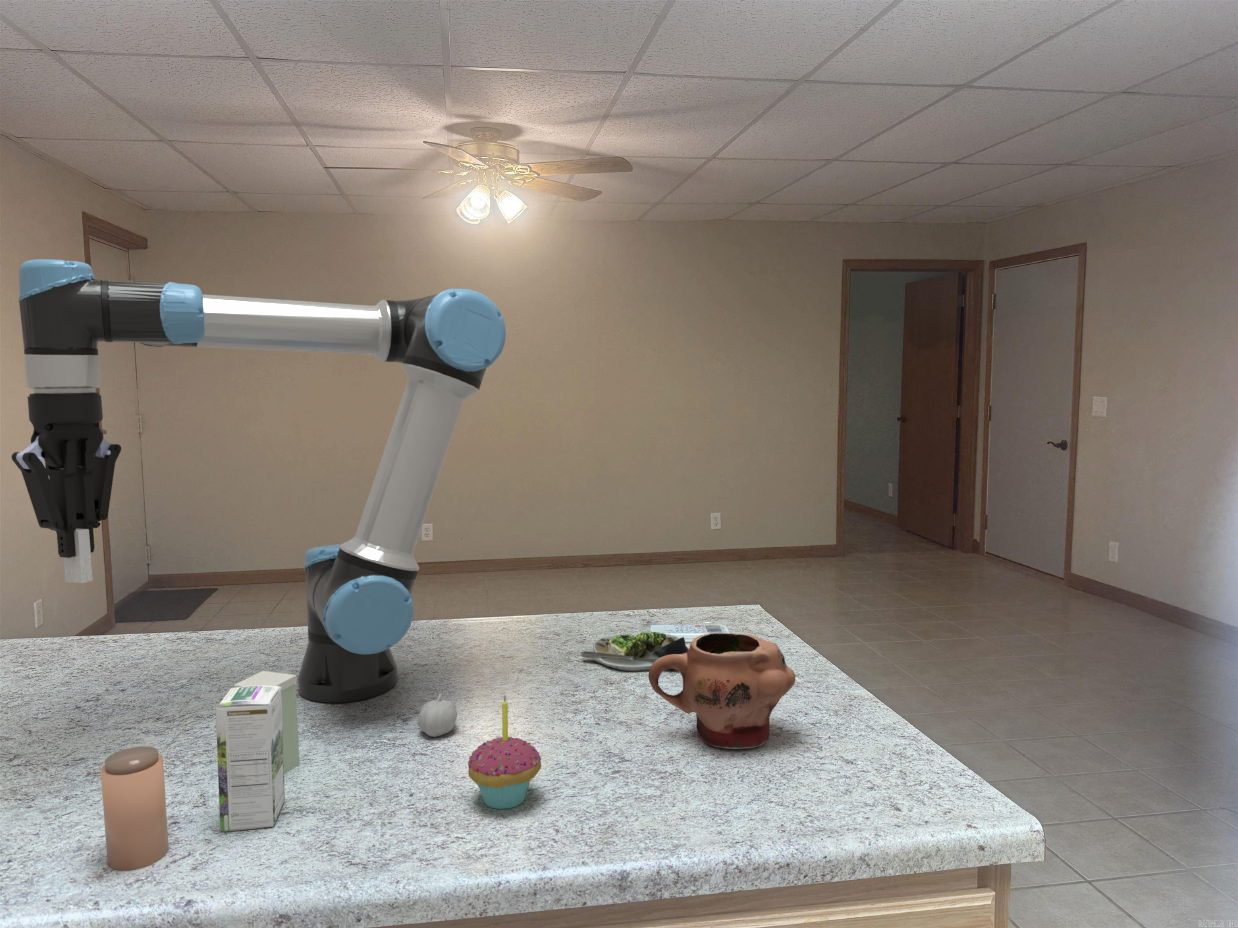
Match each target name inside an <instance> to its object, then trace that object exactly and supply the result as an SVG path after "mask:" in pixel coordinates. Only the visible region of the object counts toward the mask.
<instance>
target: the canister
mask: <svg viewBox="0 0 1238 928" xmlns="http://www.w3.org/2000/svg"><path fill="white" fill-rule="evenodd" d="M164 769H165V767H164V757H163V755H162V754H161V753H159V750H158V749H157V748H156V747H154V746H150V745H149V746H146V745H143V746H135V747H134V746H133V747H129V748H124V749H122V750H118V751H117V752H114V753H112V754H110V755H108V757H106V758H105V759H104V765H102V766H101V768H100V781H101V795H102V807H103V809H102V810H103V821H104V836H105V850H106V851H105V852H106V860H107V861H106V863H107V867H108V868H110V869H111V870H114V871H119V872H120V871H121V872H126V871H128V872H129V871H134V870H139V869H142V868H145V867H148V866H150V865H152V864H155V863H157V862H158V861H160V860H161V859H163V858H164V857H165V856H166V855H167V854H168V852H169V849H170V848H169V846H170V845H169V832H168V830H169V829H168V828H169V827H168V816H167V814H168V813H167V812H168V811H167V802H166V801H167V800H166V799H167V798H166V785H165V783H166V782H165V770H164Z"/></svg>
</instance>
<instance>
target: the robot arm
mask: <svg viewBox="0 0 1238 928" xmlns="http://www.w3.org/2000/svg"><path fill="white" fill-rule="evenodd" d="M18 277H19V278H18V279H19V280H18V281H19V283H18V284H19V286H18V288H19V297H18V303H19V313H20V322H21V332H22V342H23V353H24V365H25V366H24V368H25V379H26V387H28V388H29V389H33V391H32V392H33V393H29V395H28V396H27V405H28V406H27V408H28V418H29V419H28V420H29V422H30V423H31V425H32V427H33V431H32V435H31V436H30V445H29V446H27V447H26V448H25V449H23V450H22V451H15V452H13V453H12V454H11V460H12V462H13V463H14V464H15V465H16V467H17V468H18V470H19V471H20V472H21V474H22V478H23V481H24V484H25V487H26V490H27V493H28V496H29V499H30V503H31V505H32V508H33V512H34V514H35V517H36V520H37V523H38V526H39V527H40V529H49V530H51V531H54V532H55V533H56V539H57V541H56V543H57V553H58V556H59V557H60V558H62V559H63V568H64V580H65V583H74V584H84V583H89V582H93V581H94V580H93V569H92V568H93V567H92V553H94V551H95V536H94V529H98V528H99V527H100V526H101V521H105V520H106V521H107V519H108V517H109V512H110V511H109V510H110V504H111V496H112V490H113V482H114V473H115V467H116V462H117V459H118V458H119V456H120V453H121V452H122V446H121V445H120V443H119V444H118V443H111V442H110V441H108V440H106V439H105V438H104V433H103V431H102V430H101V428H100V427H101V426H100V422H102V421H103V417H104V414H103V400H102V395H101V394H100V392H96V389H99V388H100V387H101V386H102V383H101V373H100V372H101V371H100V361H99V349H98V346H99V343H100V342H105V343H139V344H141V345H144V346H146V347H157V348H158V347H159V348H160V347H161V348H162V347H184V348H185V347H186V348H189V347H190V348H193V347H195V348H211V349H212V348H215V349H235V350H236V349H237V350H258V351H259V350H260V351H261V350H263V351H264V350H265V351H281V352H282V351H284V352H304V353H305V352H306V353H323V354H324V353H325V354H327V353H328V354H350V355H352V354H353V355H368V356H369V355H370V356H373V355H374V357H376V358H377V359H378V361H380V362H384V363H385V362H386V363H398V364H399V363H400V364H401V368H402V370H403V372H404V374H405V375H406V378H407V383H406V386H405V389H404V392H403V394H402V397H401V400H400V403H399V406H398V409H397V412H396V416H395V419H394V421H393V424H392V427H391V429H390V433H389V436H388V439H387V440H386V441H387V442H386V444H385V447H384V450H383V453H382V457H381V458H380V459H381V460H380V462H379V465H378V467H377V472H376V474H375V477H374V479H373V483H372V486H371V489H370V492H369V494H368V498H367V499H366V500H367V501H366V502H365V503H366V504H365V507H364V508H363V512H362V515H361V518H360V520H359V523H358V527H357V530H356V532H355V536H353V537H352V538H351V539H348V541H345V542H342V543H337V544H328V545H321V546H316V547H311V548H309V549H308V550H307V551H306V552H305V556H304V565H303V571H304V572H305V593H306V594H305V595H306V614H307V615H306V618H307V635H308V637H307V641H308V642H307V645H306V650H305V653H304V657H303V660H302V664H301V667H300V670H299V674H298V679H297V684H298V694H299V695H300V696H301V697H302V698H304V699H306V700H310V701H313V702H319V703H331V704H333V703H335V704H336V703H348V702H349V703H350V702H355V701H361V700H367V699H369V698H373V697H376V696H379V695H382V694H384V693H386V692H388V691H390V690H391V689H392V688H394V687H395V686H396V684H397V683H398V668H397V667H398V666H397V664H396V660H395V659H394V656H393V653H392V650H391V648H392V647H394V646H395V645H396V644H397V643H399V642H400V641H401V640H402V639H403V638H404V636H405V635H406V634H407V633H408V631H409V629H410V627H411V625H412V622H413V619H414V611H415V609H414V601H413V597H412V591H413V589H414V585H415V582H416V580H417V577H418V573H419V570H420V566H419V564H418V562H417V560H416V559H415V555H414V552H415V548H416V545H417V543H418V540H419V537H420V534H421V531H422V528H423V525H424V521H425V520H426V517H427V514H428V511H429V507H430V504H431V501H432V498H433V495H434V492H435V490H436V486H437V483H438V481H439V478H440V475H441V472H442V469H443V465H444V463H445V460H446V457H447V455H448V452H449V451H448V450H449V448H450V444H451V442H452V439H453V436H454V433H455V430H456V427H457V424H458V421H459V418H460V415H461V412H462V409H463V407H464V403H465V401H466V400H467V399H468V398H470V397H472V396H475V395H476V394H478V393H479V391H480V388H481V386H482V382H483V379H484V377H485V374H486V370H487V368H489V367H490V366H491V365H493V364H494V363H495V362H496V360H497V359H498V358H499V357H500V356H501V354H502V352H503V351H504V348H505V345H506V344H505V343H506V338H507V331H506V330H507V329H506V323H505V320H504V318H503V316H502V313H501V311H500V309H499V308H498V306H497V305H496V304H495V302H494V301H492V300H491V299H490V298H489V297H487V296H486V295H485V294H483V293H481V292H479V291H476V290H472V289H468V288H449V289H445V290H442V291H441V292H439V293H436V294H432V295H428V296H425V297H420V298H414V299H406V300H405V299H404V300H390V299H389V300H387V299H382V300H380V301H379V302H378V303H377V304H375V305H367V304H350V303H335V302H322V301H321V302H319V301H307V300H306V301H305V300H293V299H279V298H278V299H277V298H276V299H274V298H264V297H263V298H262V297H248V296H247V297H246V296H233V295H218V294H217V295H216V294H203V292H202V290H201V287H199V286H197V285H195V284H194V285H193V284H188V283H179V282H178V283H177V282H174V281H169V282H153V281H152V282H151V281H147V282H145V281H140V282H139V281H118V280H117V281H115V280H114V281H111V280H110V281H109V280H102V279H98V278H96V277H95V274H94V273H93V268H92V267H91V265H90V264H88V263H86V262H82V261H76V260H63V259H52V258H51V259H47V258H41V259H40V258H39V259H31V260H26V261H24V262H23V263H22V264H21V265H20V266H19V270H18ZM44 464H45V465H44Z"/></svg>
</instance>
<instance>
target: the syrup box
mask: <svg viewBox="0 0 1238 928" xmlns="http://www.w3.org/2000/svg"><path fill="white" fill-rule="evenodd" d="M215 723H216V725H215V726H216V745H217V746H216V751H217V777H218V778H217V779H218V782H217V783H218V802H219V806H218V808H219V830H220V831H221V832H233V831H243V830H246V831H247V830H253V829H254V830H255V829H263V828H271V827H275V825H276V823H277V820H278V818H279V815H280V813H281V811H282V808H283V806H284V804H285V799H286V798H285V797H286V796H285V795H286V793H285V792H286V791H285V774H284V762H283V760H284V758H283V727H282V699H281V687H280V686H266V685H258V686H244V687H237V688H233V687H231V688H230V689H229V691H227V693H226V694H225V696H224V697H223V699H222V700H221V701H220V702H219V704H218V705H217V706H216V708H215Z"/></svg>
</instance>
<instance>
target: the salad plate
mask: <svg viewBox="0 0 1238 928" xmlns="http://www.w3.org/2000/svg"><path fill="white" fill-rule="evenodd" d="M592 648H593V651H588V650H587V651H582V652H580V656H581V657H582V658H586V659H589V660H593V661H596V662H598V663H600V664H601V665H604V666H607V667H610V668H612V669H616V670H620V671H626V672H640V671H641V672H642V671H643V672H644V671H645V672H646V671H649V670H650V668H651V666H652V664H653V663H654V662H655V661H656V660H657V659H659V658H661V657H663V656H666V655H671V654H684V653H687V652H688V651H689V648H688V647H687V645H686V640H685V637H684V636H682V637H680V638H679V636H676V635H674V634H670V633H669V634H667V633H664V632H662V633H661V632H657V631H647V632H644V631H643V632H640V633H638V634H635V635H634V634H633V635H632V634H631V635H629V634H617V635H612V636H611V635H610V636H605V637H601V638H599V639H597V640H596V641H595V642H594V643H593V644H592ZM667 670H669V669H667ZM667 670H666V671H667Z"/></svg>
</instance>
